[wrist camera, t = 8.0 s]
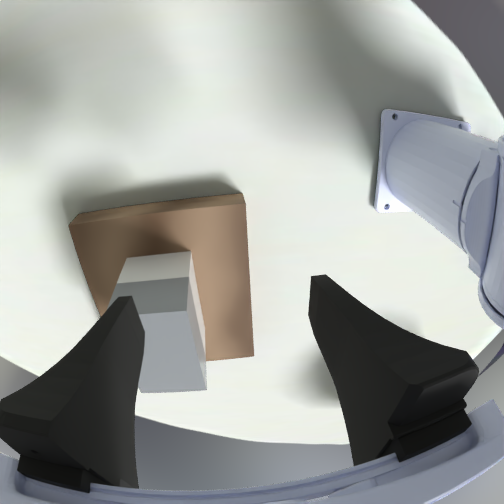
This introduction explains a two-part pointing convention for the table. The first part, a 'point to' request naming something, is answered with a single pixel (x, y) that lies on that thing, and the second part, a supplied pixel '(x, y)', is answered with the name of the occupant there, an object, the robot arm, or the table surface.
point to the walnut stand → (172, 241)
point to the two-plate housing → (167, 321)
